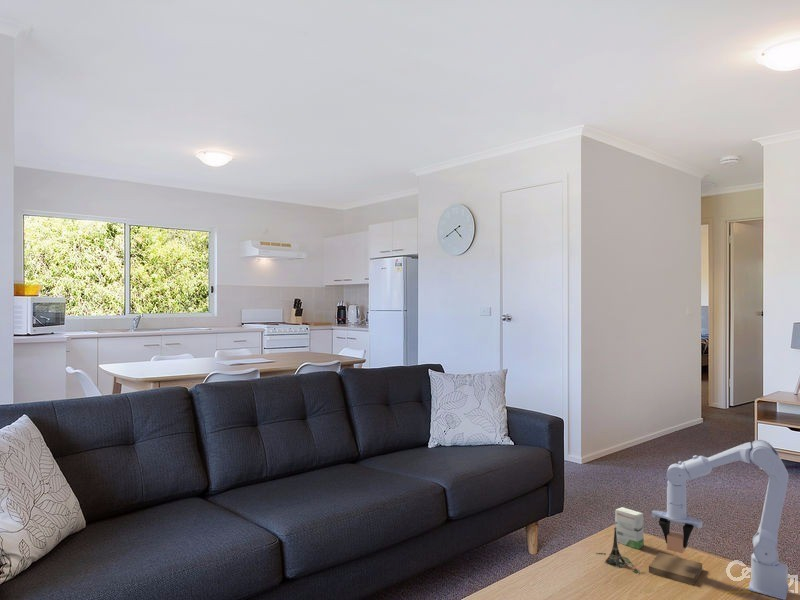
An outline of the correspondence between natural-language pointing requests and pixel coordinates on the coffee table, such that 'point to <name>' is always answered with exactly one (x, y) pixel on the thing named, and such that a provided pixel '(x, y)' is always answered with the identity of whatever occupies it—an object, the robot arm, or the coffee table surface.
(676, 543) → the terracotta block
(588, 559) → the coffee table surface
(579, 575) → the coffee table surface
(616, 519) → the ink box
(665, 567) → the walnut base
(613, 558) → the eiffel tower figurine
